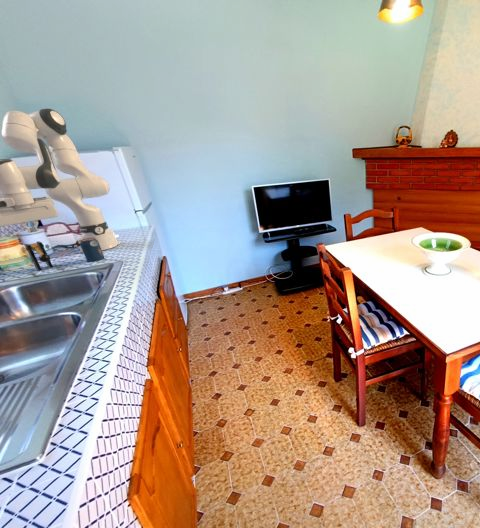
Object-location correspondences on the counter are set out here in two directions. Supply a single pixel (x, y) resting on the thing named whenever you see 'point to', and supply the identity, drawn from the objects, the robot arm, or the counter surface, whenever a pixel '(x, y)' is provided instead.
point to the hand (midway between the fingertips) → (33, 231)
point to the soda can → (91, 249)
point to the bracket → (35, 257)
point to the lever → (40, 253)
